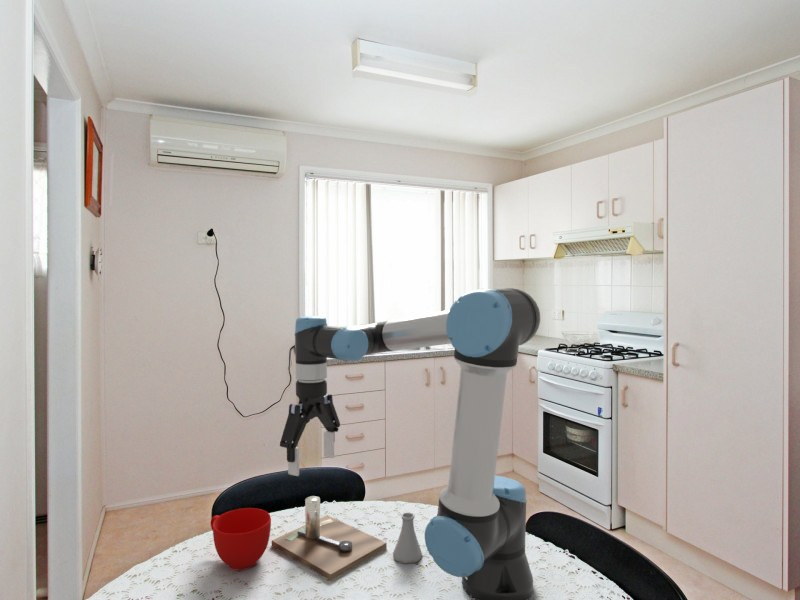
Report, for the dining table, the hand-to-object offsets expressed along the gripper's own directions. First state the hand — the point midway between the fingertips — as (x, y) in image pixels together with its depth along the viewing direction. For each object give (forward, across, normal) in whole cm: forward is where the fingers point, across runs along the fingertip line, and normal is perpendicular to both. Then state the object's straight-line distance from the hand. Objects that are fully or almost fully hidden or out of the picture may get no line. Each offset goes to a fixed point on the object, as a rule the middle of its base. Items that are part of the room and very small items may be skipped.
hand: (312, 465), depth 128 cm
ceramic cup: (+20, +14, -12) cm, 27 cm away
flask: (+21, -8, +23) cm, 31 cm away
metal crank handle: (+18, 0, +3) cm, 19 cm away
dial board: (+20, -1, +4) cm, 21 cm away
